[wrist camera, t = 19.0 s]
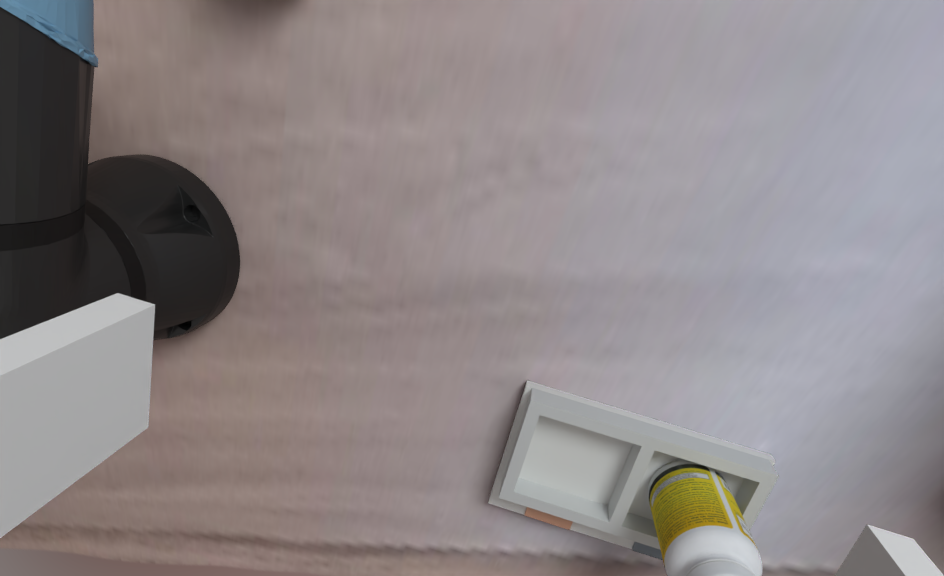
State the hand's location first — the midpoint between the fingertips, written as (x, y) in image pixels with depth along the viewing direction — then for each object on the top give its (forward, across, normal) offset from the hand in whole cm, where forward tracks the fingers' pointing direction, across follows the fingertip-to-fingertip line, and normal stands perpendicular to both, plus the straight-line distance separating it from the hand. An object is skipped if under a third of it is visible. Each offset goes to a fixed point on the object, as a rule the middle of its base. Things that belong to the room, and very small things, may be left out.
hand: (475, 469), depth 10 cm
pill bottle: (+31, +18, -19) cm, 40 cm away
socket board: (+32, +13, -20) cm, 40 cm away
